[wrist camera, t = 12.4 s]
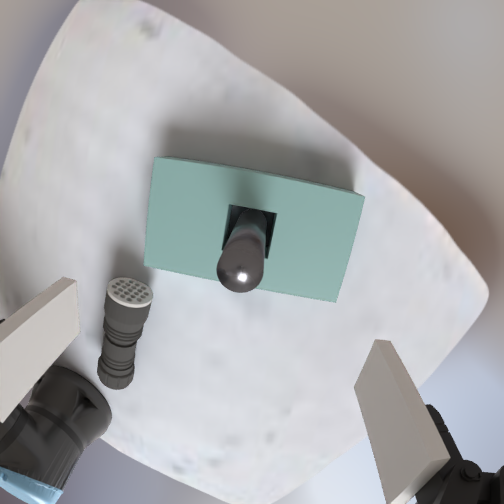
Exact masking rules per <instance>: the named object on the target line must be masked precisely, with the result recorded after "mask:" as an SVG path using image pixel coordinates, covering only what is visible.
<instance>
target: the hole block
mask: <svg viewBox="0 0 504 504" xmlns="http://www.w3.org/2000/svg"><path fill="white" fill-rule="evenodd" d="M364 199H365V197H364V196H362V195H360V194H358V193H356V192H354V191H350V190H346V189H342V188H338V187H333V186H329V185H325V184H320V183H316V182H311V181H307V180H302V179H297V178H293V177H288V176H283V175H278V174H273V173H268V172H262V171H257V170H252V169H246V168H241V167H235V166H229V165H223V164H217V163H210V162H204V161H197V160H190V159H183V158H176V157H169V156H165V157H154V164H153V172H152V179H151V187H150V196H149V205H148V215H147V226H146V237H145V251H144V266H148V267H152V268H157V269H161V270H166V271H171V272H176V273H180V274H185V275H190V276H195V277H200V278H205V279H210V280H215V281H219V279H218V276H217V271H216V268H217V263H218V261H219V258H220V256H221V254H222V252H223V250H224V248H225V246H226V244H227V242H228V239H227V235H228V229H229V223H230V217H231V211H232V205H237V206H242V207H248V208H253V209H258V210H264V211H269V212H274V213H275V216H274V221H273V226H272V231H271V235H270V240H269V245H268V247H267V246H265V258H264V273H263V278H262V280H261V282H260V284H259V285H258V286H257V287H256V289H261V290H267V291H272V292H278V293H283V294H289V295H294V296H300V297H306V298H311V299H317V300H323V301H329V302H335V303H336V301H337V298H338V294H339V291H340V288H341V285H342V281H343V278H344V275H345V271H346V268H347V264H348V261H349V257H350V254H351V250H352V246H353V243H354V239H355V235H356V231H357V228H358V224H359V220H360V216H361V212H362V208H363V204H364Z"/></svg>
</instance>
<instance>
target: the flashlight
mask: <svg viewBox="0 0 504 504" xmlns="http://www.w3.org/2000/svg"><path fill="white" fill-rule="evenodd" d="M152 298H153V293H152V290H151V289H150V288H149V287H148V286H147V285H146V284H144V283H141V282H139V281H137V280H134V279H132V278H125V277H121V278H115V279H113V280H111V281H110V282H109V283H108V287H107V293H106V299H105V305H104V309H105V317H104V324H103V328H104V331H105V338H104V345H103V347H102V353H101V356H100V357H99V360H98V368H97V373H98V376H99V379H100V381H101V382H102V383H103V384H104V385H105V386H106V387H108V388H111V389H115V390H120V389H124V388H126V387H127V386H128V385H129V384H130V383H131V382H132V380H133V375H134V369H135V366H134V358H135V348H136V343H137V340H138V339H139V338H140V337H141V335H142V330H143V325H144V323H145V321H146V320H147V317H148V314H149V310H150V306H151V302H152Z"/></svg>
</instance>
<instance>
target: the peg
mask: <svg viewBox="0 0 504 504" xmlns="http://www.w3.org/2000/svg"><path fill="white" fill-rule="evenodd" d="M266 224H267V222H266V218H265V216H264V214H263V213H262V212H261V211H259V210H257V209H247V210H245V211H244V212H242V213H241V215H240V216H239V218H238V221H237V223H236V225H235V227H234V229H233V231H232V233H231V235H230V237H229V239H228V242H227V244H226V246H225V248H224V250H223V252H222V254H221V256H220V258H219V261H218V263H217V268H216V271H217V276H218V279H219V281H220V282H221V284H222V285H223V286H224V287H226V288H227V289H229V290H231V291H233V292H239V293H243V292H248V291H251V290H253V289H254V288H256V287H257V286H258V285H259V284H260V282H261V280H262V278H263V273H264V258H265V241H266Z"/></svg>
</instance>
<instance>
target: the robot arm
mask: <svg viewBox="0 0 504 504" xmlns="http://www.w3.org/2000/svg"><path fill="white" fill-rule="evenodd" d="M80 333H81V331H80V321H79V310H78V296H77V281H76V280H72V279H69V278H65V277H62V278H61V279H60V280H58V281H57V282H55V283H54V284H53V285H51V286H50V287H48V288H47V289H46V290H44V291H43V292H42V293H40V294H39V295H38V296H36V297H35V298H33V299H32V300H31V301H29V302H28V303H27V304H25V305H24V306H23V307H21V308H20V309H19V310H18V311H16V312H15V313H14V314H12V315H11V316H10V317H9V318H7V319H6V320H5V319H2V320H0V487H2V488H3V489H5V490H6V491H8V492H9V493H11V494H12V495H14V496H16V497H17V498H19V499H21V500H23V501H25V502H26V503H29V504H55V503H56V501H57V500H58V498H59V497H60V495H61V494H62V493H63V489H64V487H65V485H66V483H67V482H68V480H69V478H70V476H71V474H72V472H73V470H74V468H75V466H76V464H77V462H78V460H79V458H80V456H81V454H82V452H83V451H84V449H85V448H86V447H87V446H89V445H90V444H91V443H92V442H94V441H95V440H96V439H97V438H99V437H100V436H101V435H103V434H104V433H105V432H106V430H107V428H108V426H109V425H110V423H111V420H112V414H111V410H110V408H109V406H108V404H107V402H106V400H105V399H104V398H103V396H102V395H101V394H100V393H99V391H98V390H97V389H96V388H95V387H94V386H93V385H91V384H90V383H89V382H88V381H87V380H85V379H84V378H83V377H81V376H80V375H78V374H76V373H75V372H73V371H71V370H68V369H66V368H63V367H59V366H51V365H52V364H53V362H54V361H55V360H56V359H57V358H58V357H59V356H60V355H61V353H62V352H63V351H64V350H65V349H66V348H67V347H68V346H69V345H70V343H71V342H72V341H73V340H74V339H75V338H76V337H77V336H78V335H79V334H80ZM33 385H34V387H33ZM32 387H33V390H32V394H31V397H30V400H29V403H28V405H27V406H26V408H25V409H24V408H23V407H22V406H21V404H20V403H19V402H20V401H21V400H22V399H23V397H24V396H25V395H26V394H27V393H28V391H29V390H30V389H31V388H32ZM354 389H355V393H356V396H357V399H358V402H359V406H360V409H361V412H362V416H363V419H364V422H365V426H366V429H367V433H368V436H369V440H370V443H371V447H372V450H373V454H374V458H375V461H376V465H377V469H378V473H379V477H380V480H381V484H382V488H383V492H384V496H385V500H386V504H406V503H407V502H408V501H409V500H410V499H411V498H412V497H414V496H416V499H417V503H416V504H504V466H502V467H501V468H500V469H499V470H498V471H497V473H488V472H482V470H481V469H480V468H479V466H478V465H477V464H475V463H474V462H472V461H469V460H463V458H462V456H461V454H460V452H459V450H458V448H457V446H456V444H455V442H454V440H453V438H452V436H451V434H450V432H449V433H448V428H447V426H446V425H444V421H443V419H442V417H441V415H440V413H439V412H438V411H437V410H436V409H435V408H434V407H433V406H432V405H430V404H429V405H425V404H424V402H423V400H422V398H421V396H420V394H419V393H418V390H417V389H416V387H415V385H414V383H413V381H412V379H411V377H410V375H409V374H408V372H407V370H406V368H405V366H404V364H403V363H402V361H401V359H400V357H399V355H398V354H397V352H396V350H395V348H394V347H393V345H392V343H391V341H386V340H377V339H375V341H374V343H373V346H372V348H371V350H370V353H369V355H368V357H367V360H366V362H365V364H364V366H363V369H362V371H361V373H360V375H359V377H358V379H357V382H356V384H355V386H354Z"/></svg>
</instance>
